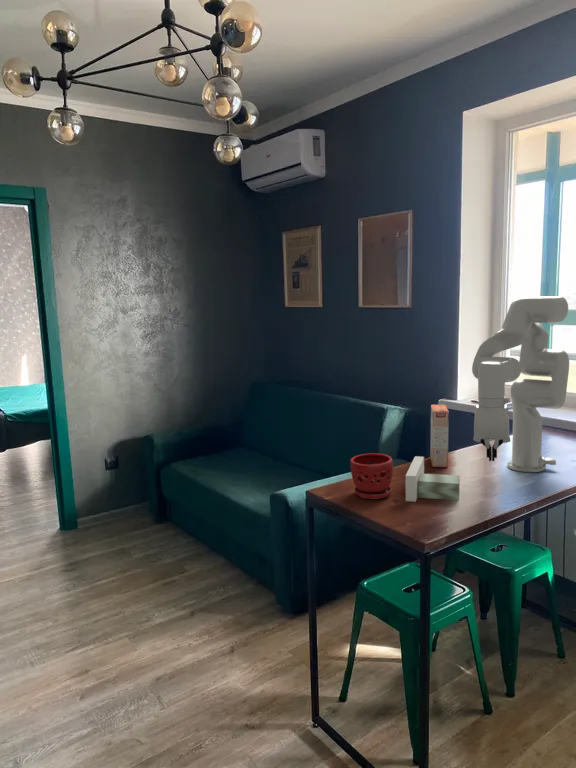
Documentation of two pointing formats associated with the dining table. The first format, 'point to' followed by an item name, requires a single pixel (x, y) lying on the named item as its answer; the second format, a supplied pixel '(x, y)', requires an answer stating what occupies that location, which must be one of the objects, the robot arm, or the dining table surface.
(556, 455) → the dining table surface
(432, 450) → the cracker box
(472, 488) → the dining table surface
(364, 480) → the plant pot
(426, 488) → the block
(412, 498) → the board
